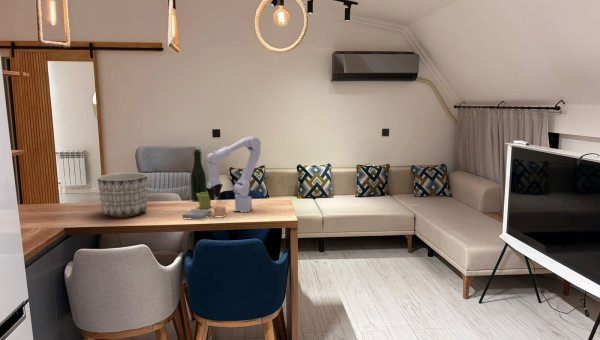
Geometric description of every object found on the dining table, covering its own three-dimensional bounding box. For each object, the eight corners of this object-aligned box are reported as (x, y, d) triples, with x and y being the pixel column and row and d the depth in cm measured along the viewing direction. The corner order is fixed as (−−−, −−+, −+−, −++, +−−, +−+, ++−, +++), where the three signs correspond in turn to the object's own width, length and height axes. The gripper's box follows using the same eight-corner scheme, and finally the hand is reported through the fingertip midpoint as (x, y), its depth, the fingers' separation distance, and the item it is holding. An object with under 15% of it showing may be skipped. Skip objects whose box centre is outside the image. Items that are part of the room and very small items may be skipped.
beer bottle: (188, 201, 281) (186, 150, 276) (193, 198, 291) (190, 148, 286) (205, 201, 281) (203, 150, 276) (208, 198, 291) (207, 148, 286)
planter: (101, 210, 259) (98, 174, 255) (148, 206, 268) (146, 171, 264) (98, 222, 235) (95, 181, 231) (150, 217, 244) (148, 178, 240)
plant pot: (194, 209, 262) (193, 194, 261) (202, 205, 271) (201, 191, 270) (208, 210, 260) (207, 195, 258) (215, 206, 268) (215, 192, 267)
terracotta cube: (225, 215, 248) (225, 206, 247) (222, 217, 243) (222, 209, 242) (217, 215, 249) (217, 206, 248) (214, 217, 244) (213, 208, 243)
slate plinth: (211, 215, 250) (211, 210, 250) (203, 221, 238) (203, 215, 238) (192, 214, 252) (191, 209, 252) (182, 219, 241) (182, 214, 240)
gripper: (212, 172, 253) (213, 195, 256) (201, 176, 239) (202, 201, 242) (223, 172, 252) (224, 195, 254) (213, 177, 238) (214, 201, 240)
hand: (214, 198), depth 248 cm, fingers open, 7 cm apart
